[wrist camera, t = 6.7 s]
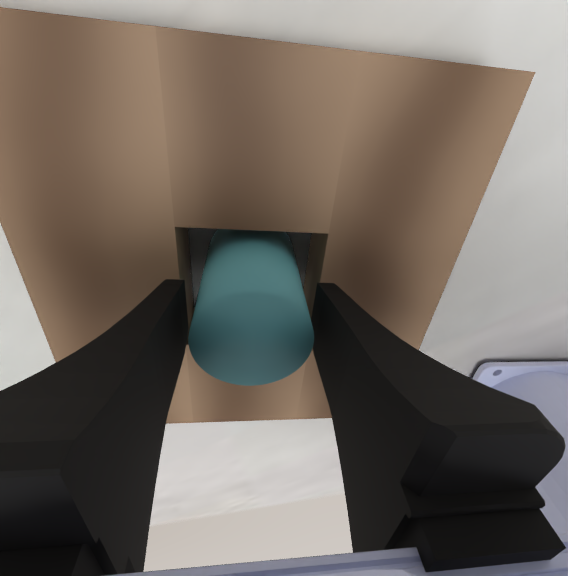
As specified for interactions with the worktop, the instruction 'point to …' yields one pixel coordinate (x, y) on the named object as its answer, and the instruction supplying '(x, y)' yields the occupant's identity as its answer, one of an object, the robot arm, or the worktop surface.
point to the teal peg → (250, 309)
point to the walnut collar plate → (235, 176)
